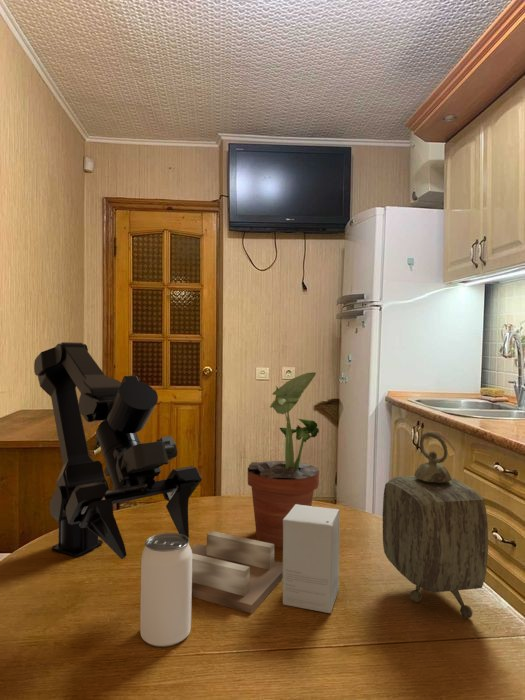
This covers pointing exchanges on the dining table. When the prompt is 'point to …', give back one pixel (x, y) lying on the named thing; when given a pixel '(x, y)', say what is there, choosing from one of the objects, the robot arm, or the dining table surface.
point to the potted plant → (283, 470)
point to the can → (166, 589)
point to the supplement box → (311, 557)
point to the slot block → (234, 571)
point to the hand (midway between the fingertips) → (156, 548)
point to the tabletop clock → (436, 529)
